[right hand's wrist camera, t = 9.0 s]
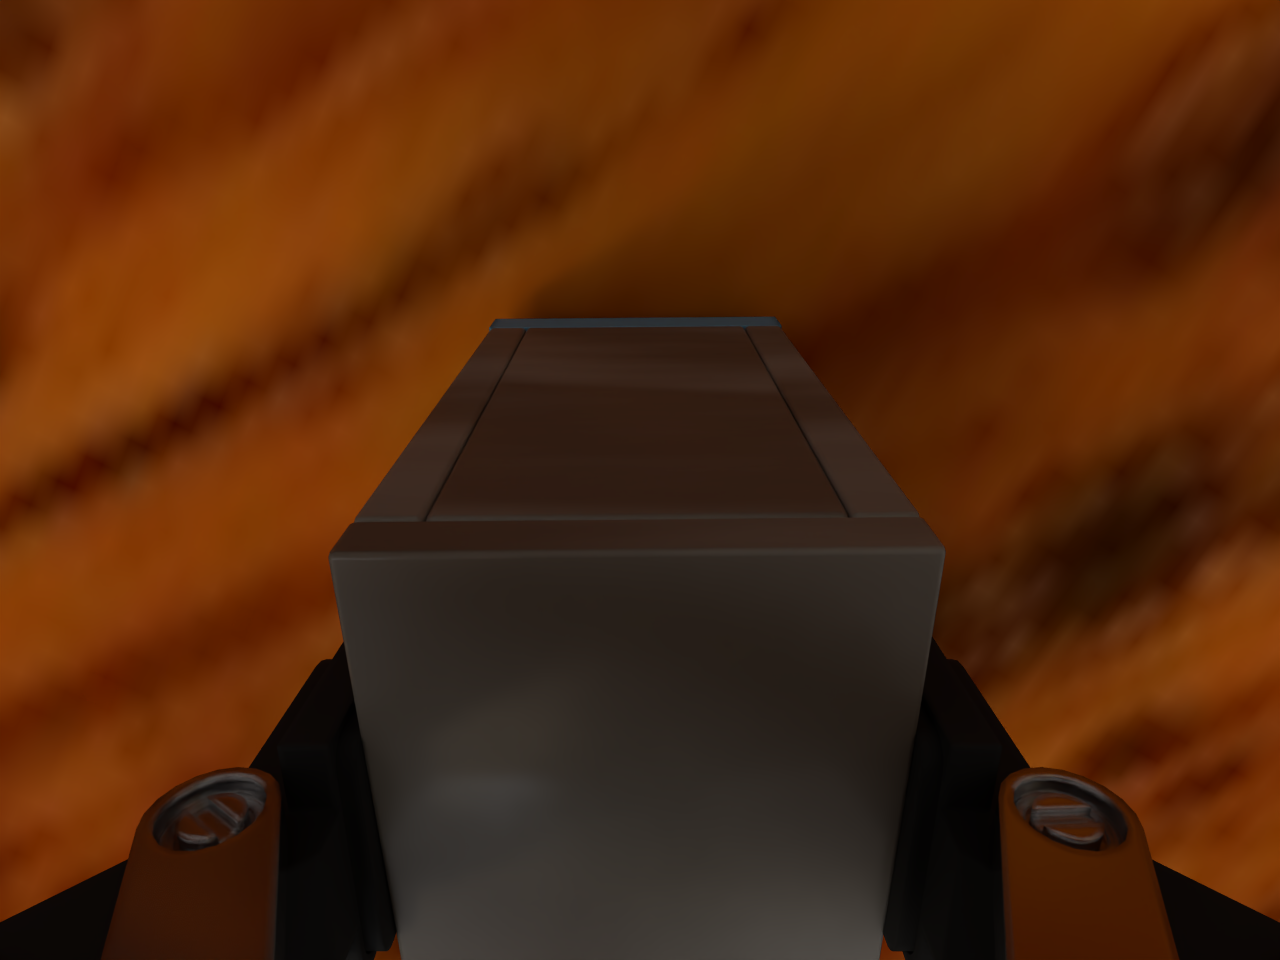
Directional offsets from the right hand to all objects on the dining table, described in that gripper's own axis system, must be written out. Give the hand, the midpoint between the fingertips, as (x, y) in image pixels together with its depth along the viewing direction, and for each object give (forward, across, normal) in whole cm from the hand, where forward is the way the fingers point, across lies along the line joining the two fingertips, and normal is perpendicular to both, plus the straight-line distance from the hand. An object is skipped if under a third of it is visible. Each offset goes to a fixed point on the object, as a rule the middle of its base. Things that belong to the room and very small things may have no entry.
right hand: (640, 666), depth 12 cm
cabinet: (+7, 0, -4) cm, 8 cm away
